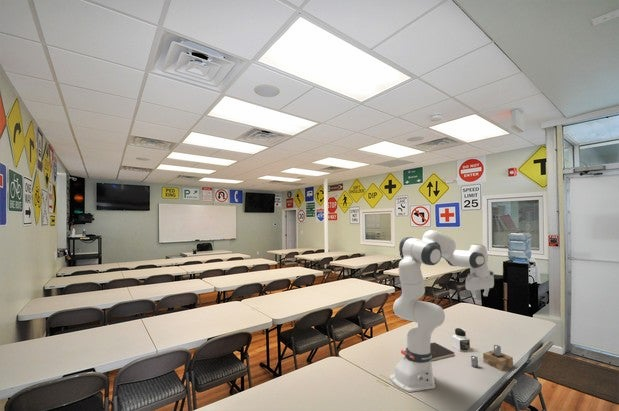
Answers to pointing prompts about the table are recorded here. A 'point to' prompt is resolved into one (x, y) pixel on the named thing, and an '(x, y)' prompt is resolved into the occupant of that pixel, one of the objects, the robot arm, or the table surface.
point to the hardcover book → (439, 351)
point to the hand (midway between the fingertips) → (480, 296)
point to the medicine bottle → (460, 340)
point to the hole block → (498, 360)
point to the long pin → (497, 351)
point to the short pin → (474, 361)
